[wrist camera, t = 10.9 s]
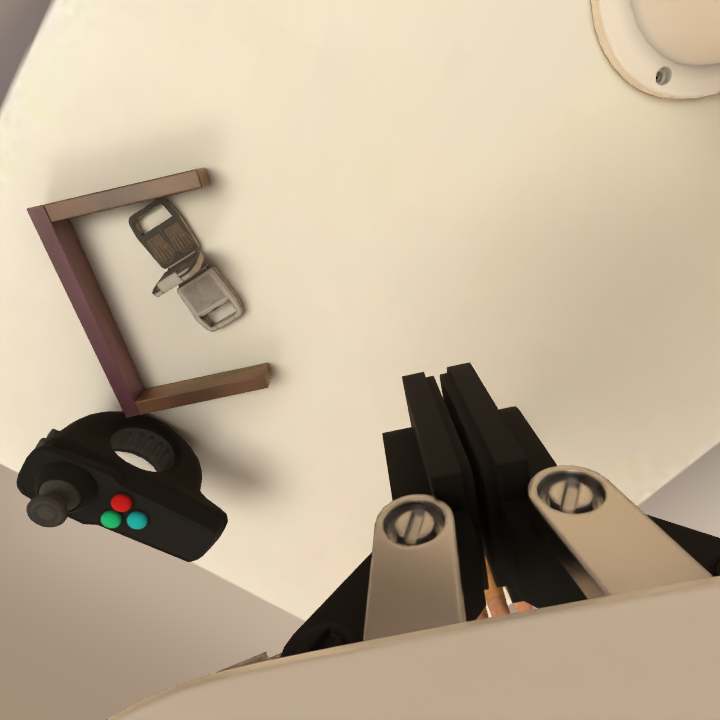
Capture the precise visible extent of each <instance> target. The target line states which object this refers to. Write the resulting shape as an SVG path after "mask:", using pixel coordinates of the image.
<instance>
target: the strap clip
mask: <svg viewBox="0 0 720 720" xmlns="http://www.w3.org/2000/svg"><path fill="white" fill-rule="evenodd" d="M159 205H163V206H164V207H165V208H166V209H167V210H168V211H169V212H170V214H171V215H172V217H170V218H169V219H167V220H166V221H164V222H163V223H161V224H160V225H158V226H156V227H155V228H153V229H152V230H150V231H149V232H147V233H146V234H144V233H143V231H142V230H141V228H140V227H139V225H138V224H137V220H138V219H139V218H140V217H142V216H143V215H145V214H146V213H148V212H149V211H151V210H153V209H154V208H156V207H157V206H159ZM129 224H130V227H131V228H132V230H133V232H134V233H135V235H136V237H137V239H138V240H139V241H140V242H141V243H142V245H143V246H144V247H145V248H146V249H147V250H148V252H149V253H150V254H151V255H152V256H153V258H154V259H155V260H156V261H157V262H158V263H159V265H160V266H161V267H162V268H164V269H166V268H168V271H167V272H165V273H164V275H163V276H162V277H161V279H160V280H159V282H158V283H156V286H155V287H154V289H153V292H152V293H153V295H154V296H155V297H159V296H161V295H162V294H164V293H166V292H167V291H169V290H171V289H172V288H174V287H175V286H177V285H179V288H178V289H177V292H178V294H179V295H180V297H181V298H182V300H183V301H184V303H185V304H186V306H187V307H188V308H189V310H190V311H191V313H192V314H193V316H194V317H195V319H196V320H197V321H198V322H199V323H200V324H201V325H202V326H203V327H204V328H206V329H207V330H209V331H212V332H214V331H216V330H218V329H220V328H222V327H223V326H225V325H227V324H228V323H230V322H232V321H233V320H235V319H237V318H238V317H240V316H241V315H242V313H243V306H242V304H241V302H240V300H239V298H238V296H237V294H236V293H235V291H234V290H233V289H232V288H231V286H230V285H229V284H228V283H227V281H226V280H225V279H224V278H223V276H222V275H221V274H220V273H219V271H218V270H217V269H216V268H215V267H213V266H212V267H209V266H208V265H205V266H203V267H202V268H201V265H202V262H203V259H204V256H203V255H202V254H201V252H200V251H199V252H198V251H197V249H198V248H199V243H198V242H197V240H196V239H195V237H194V235H193V234H192V232H191V231H190V229H189V227H188V226H187V224H186V223H185V221H184V220H183V218H182V216H181V215H180V213H179V212H178V211H177V210H176V209H175V208H174V207H173V206H172V205H171V204H170V203H169V202H168V201H167V200H165V199H163V198H159V199H156V200H155V201H153V202H152V203H150V204H149V205H147V206H146V207H145V208H143V209H141V210H140V211H138V212H137V213H135V214H134V215H132V216H131V217H130V218H129ZM228 301H230V302H231V303H232V305H233V306H234V308H235V310H236V312H235V313H233V314H231V315H229V316H228V317H226V318H224V319H223V320H221V321H219V322H218V323H215V324H213V323H212V322H211V321H210V320H209V319H208V318H207V316H206V314H208V313H210V312H211V311H213V310H215V309H216V308H218V307H220V306H221V305H223V304H225V303H226V302H228Z"/></svg>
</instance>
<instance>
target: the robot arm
mask: <svg viewBox="0 0 720 720" xmlns="http://www.w3.org/2000/svg"><path fill="white" fill-rule="evenodd" d="M591 6H592V13H593V21H594V26H595V29H596V32H597V35H598V38H599V41H600V44H601V47H602V49H603V51H604V52H605V54H606V56H607V58H608V59H609V61H610V63H611V65H612V66H613V67H614V68H615V69H616V70H617V72H618V73H619V74H620V75H621V76H622V77H623V78H624V79H625V80H626V81H627V82H629V83H630V84H632V85H633V86H635V87H636V88H638V89H639V90H641V91H643V92H646V93H649V94H651V95H654V96H657V97H660V98H670V99H689V98H700V97H704V96H709V95H713V94H717V93H720V0H591ZM656 74H657V76H658V78H657V81H656ZM402 380H403V385H404V390H405V395H406V400H407V406H408V411H409V416H410V421H411V426H412V427H410V428H405V429H400V430H396V431H391V432H386V433H382V434H383V441H384V448H385V454H386V461H387V467H388V474H389V480H390V486H391V493H392V499H393V501H392V502H390V503H389V504H388V505H386V506H385V507H384V508H383V509H382V511H381V512H380V513H379V515H378V516H377V519H376V523H375V528H374V538H373V548H372V553H371V554H370V555H369V556H368V557H367V558H366V559H365V560H364V561H363V562H362V563H361V564H360V565H359V566H358V567H357V568H356V569H355V570H354V572H353V573H352V574H351V575H350V576H349V577H348V578H347V579H346V580H345V581H344V582H343V583H342V584H341V585H340V586H339V587H338V588H337V589H336V590H335V591H334V592H333V594H332V595H331V596H330V597H329V598H328V599H327V600H326V601H325V602H324V603H323V604H322V605H321V606H320V607H319V608H318V609H317V610H316V611H315V612H314V613H313V614H312V616H311V617H310V618H309V619H308V620H307V621H306V622H305V623H304V624H303V625H302V626H301V627H300V628H299V629H298V630H297V631H296V632H295V633H294V634H293V636H292V637H291V639H290V640H289V641H288V643H287V644H286V645H285V647H284V649H283V652H282V653H280V654H278V655H275V656H273V657H270V658H268V655H267V653H266V652H264V653H262V654H259V655H257V656H254V657H252V658H250V659H247V660H245V661H242V662H240V663H238V664H235V665H233V666H230V667H228V668H225V669H223V670H221V671H218V672H216V673H213V674H209V675H206V676H203V677H200V678H197V679H194V680H191V681H188V682H185V683H182V684H179V685H175V686H173V687H171V688H169V689H166V690H164V691H161V692H159V693H157V694H155V695H152V696H150V697H148V698H146V699H143V700H141V701H139V702H137V703H135V704H133V705H131V706H130V707H128V708H126V709H124V710H123V711H121V712H119V713H117V714H116V715H114V716H112V717H110V718H109V719H107V720H720V538H718V537H715V536H712V535H709V534H706V533H702V532H699V531H696V530H693V529H690V528H687V527H684V526H681V525H677V524H674V523H671V522H668V521H665V520H662V519H658V518H655V517H652V516H649V515H646V514H645V513H644V512H642V511H641V510H640V509H639V508H638V507H637V506H636V505H635V504H634V503H633V502H632V501H630V500H629V499H628V498H627V497H626V496H625V495H624V494H623V493H622V492H621V491H620V490H618V489H617V488H616V487H615V486H614V485H613V484H612V483H611V482H610V481H609V480H608V479H606V478H605V477H603V476H602V475H600V474H599V473H597V472H595V471H592V470H590V469H587V468H583V467H578V466H557V464H556V463H555V462H554V460H553V459H552V457H551V456H550V454H549V453H548V451H547V450H546V448H545V447H544V445H543V444H542V442H541V441H540V440H539V438H538V437H537V435H536V434H535V432H534V431H533V429H532V428H531V426H530V425H529V423H528V422H527V420H526V419H525V418H524V416H523V415H522V413H521V412H520V410H519V409H518V408H517V407H515V406H514V407H509V408H504V409H499V410H498V408H497V406H496V405H495V403H494V401H493V400H492V398H491V396H490V395H489V393H488V392H487V390H486V388H485V387H484V385H483V383H482V382H481V380H480V378H479V377H478V375H477V373H476V372H475V370H474V368H473V367H472V365H471V364H470V362H469V363H465V364H460V365H455V366H450V367H447V373H445V374H440V381H441V388H442V394H443V397H442V395H441V393H440V390H439V388H438V385H437V383H436V380H435V378H434V376H430V377H426V376H425V374H424V372H421V373H416V374H412V375H407V376H402ZM485 557H486V560H487V562H488V565H489V568H490V571H491V573H492V576H493V579H494V582H495V584H496V586H497V588H499V587H504V586H506V587H507V590H508V593H509V595H510V598H511V601H512V603H517V602H522V601H525V602H527V603H529V604H531V605H533V606H535V607H536V608H538V609H534V610H528V611H523V612H517V613H513V614H506V615H501V616H496V617H490V618H485V619H479V620H477V618H478V617H479V615H480V614H481V612H482V611H483V609H484V608H485V606H486V599H485V592H484V590H488V589H489V582H488V575H487V568H486V561H485Z"/></svg>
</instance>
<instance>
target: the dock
mask: <svg viewBox="0 0 720 720" xmlns="http://www.w3.org/2000/svg"><path fill="white" fill-rule="evenodd" d="M209 185H210V181H209V177H208V174H207V171H206V169H205V168H200V169H195V170H191V171H186V172H182V173H178V174H173V175H169V176H165V177H161V178H156V179H152V180H148V181H143V182H139V183H135V184H131V185H126V186H122V187H118V188H113V189H109V190H105V191H101V192H96V193H92V194H88V195H83V196H79V197H75V198H71V199H66V200H62V201H58V202H53V203H49V204H45V205H40V206H36V207H32V208H28V209H27V211H28V213H29V215H30V217H31V220H32V222H33V224H34V226H35V228H36V230H37V232H38V234H39V236H40V238H41V240H42V242H43V245H44V247H45V249H46V251H47V253H48V255H49V257H50V259H51V261H52V263H53V265H54V268H55V270H56V272H57V274H58V276H59V278H60V280H61V282H62V284H63V286H64V288H65V291H66V293H67V295H68V297H69V299H70V301H71V303H72V305H73V307H74V309H75V311H76V314H77V316H78V318H79V320H80V322H81V324H82V326H83V328H84V330H85V332H86V334H87V336H88V339H89V341H90V343H91V345H92V347H93V349H94V351H95V353H96V355H97V357H98V359H99V362H100V364H101V366H102V368H103V370H104V372H105V374H106V376H107V378H108V380H109V382H110V385H111V387H112V389H113V391H114V393H115V395H116V397H117V399H118V401H119V403H120V405H121V408H122V410H123V412H124V414H125V416H126V417H132V416H136V415H140V414H145V413H150V412H155V411H159V410H164V409H169V408H174V407H178V406H183V405H188V404H193V403H197V402H202V401H207V400H212V399H216V398H221V397H226V396H231V395H235V394H240V393H245V392H250V391H254V390H259V389H264V388H268V386H269V383H270V379H271V376H272V374H271V371H270V368H269V365H268V363H265V364H260V365H256V366H251V367H246V368H242V369H237V370H232V371H228V372H223V373H218V374H213V375H209V376H204V377H199V378H195V379H190V380H185V381H181V382H176V383H171V384H167V385H162V386H157V387H152V388H148V389H145V388H144V386H143V384H142V381H141V379H140V377H139V375H138V373H137V370H136V368H135V366H134V364H133V361H132V359H131V357H130V355H129V352H128V350H127V348H126V346H125V343H124V341H123V339H122V337H121V335H120V332H119V330H118V328H117V326H116V323H115V321H114V319H113V317H112V314H111V312H110V310H109V308H108V305H107V303H106V301H105V299H104V297H103V294H102V292H101V290H100V288H99V285H98V283H97V281H96V279H95V276H94V274H93V272H92V270H91V267H90V265H89V263H88V261H87V259H86V256H85V254H84V252H83V250H82V247H81V245H80V243H79V241H78V238H77V236H76V234H75V232H74V229H73V227H72V225H71V223H70V221H69V219H70V218H74V217H78V216H83V215H87V214H91V213H95V212H100V211H104V210H108V209H113V208H117V207H121V206H126V205H130V204H134V203H139V202H143V201H147V200H152V199H156V198H160V197H165V196H169V195H173V194H178V193H182V192H186V191H191V190H195V189H199V188H203V187H206V186H209Z"/></svg>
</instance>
